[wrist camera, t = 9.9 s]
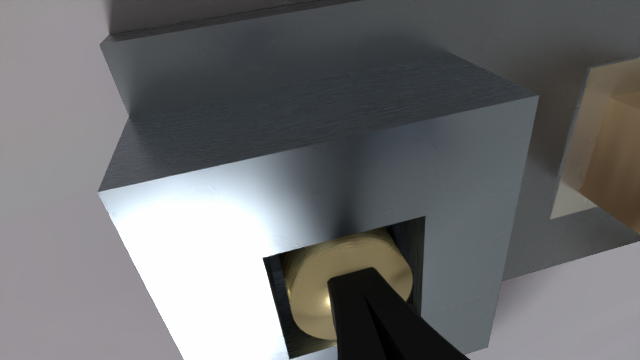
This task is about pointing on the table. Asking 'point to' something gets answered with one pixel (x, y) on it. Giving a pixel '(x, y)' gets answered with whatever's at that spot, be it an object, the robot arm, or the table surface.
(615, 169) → the oak block
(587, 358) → the table surface
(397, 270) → the pin
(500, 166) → the base
